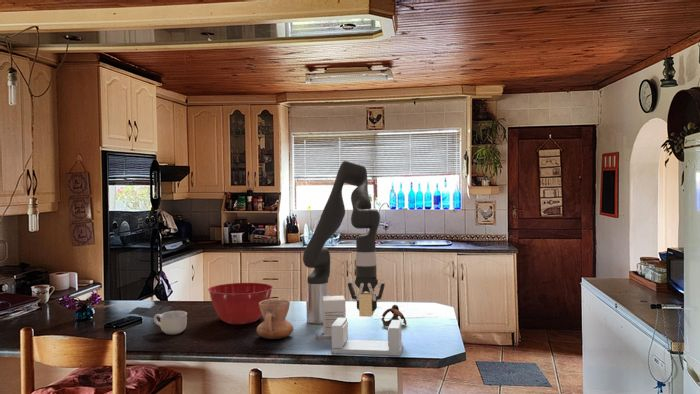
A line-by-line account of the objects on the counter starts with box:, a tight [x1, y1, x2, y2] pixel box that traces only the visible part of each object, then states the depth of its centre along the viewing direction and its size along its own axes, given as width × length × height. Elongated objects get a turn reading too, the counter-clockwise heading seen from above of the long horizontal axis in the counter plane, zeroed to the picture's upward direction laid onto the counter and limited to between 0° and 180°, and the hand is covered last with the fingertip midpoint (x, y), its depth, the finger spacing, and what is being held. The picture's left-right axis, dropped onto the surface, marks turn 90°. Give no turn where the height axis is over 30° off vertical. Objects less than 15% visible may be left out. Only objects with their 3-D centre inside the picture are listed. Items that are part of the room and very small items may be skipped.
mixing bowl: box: [207, 282, 273, 325], centre depth 240 cm, size 28×28×16 cm
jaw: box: [315, 317, 349, 349], centre depth 197 cm, size 10×12×8 cm
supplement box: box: [322, 295, 347, 336], centre depth 216 cm, size 9×9×15 cm
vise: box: [331, 319, 404, 356], centre depth 195 cm, size 24×12×10 cm, turn 80°
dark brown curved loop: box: [381, 304, 407, 327], centre depth 229 cm, size 12×9×8 cm
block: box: [358, 292, 375, 318], centre depth 195 cm, size 4×7×8 cm, turn 170°
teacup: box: [153, 310, 188, 335], centre depth 223 cm, size 14×11×8 cm
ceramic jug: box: [256, 298, 294, 340], centre depth 213 cm, size 18×14×14 cm
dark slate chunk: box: [127, 304, 175, 319], centre depth 255 cm, size 15×22×5 cm
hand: (366, 310), depth 195 cm, fingers closed on block, 4 cm apart
